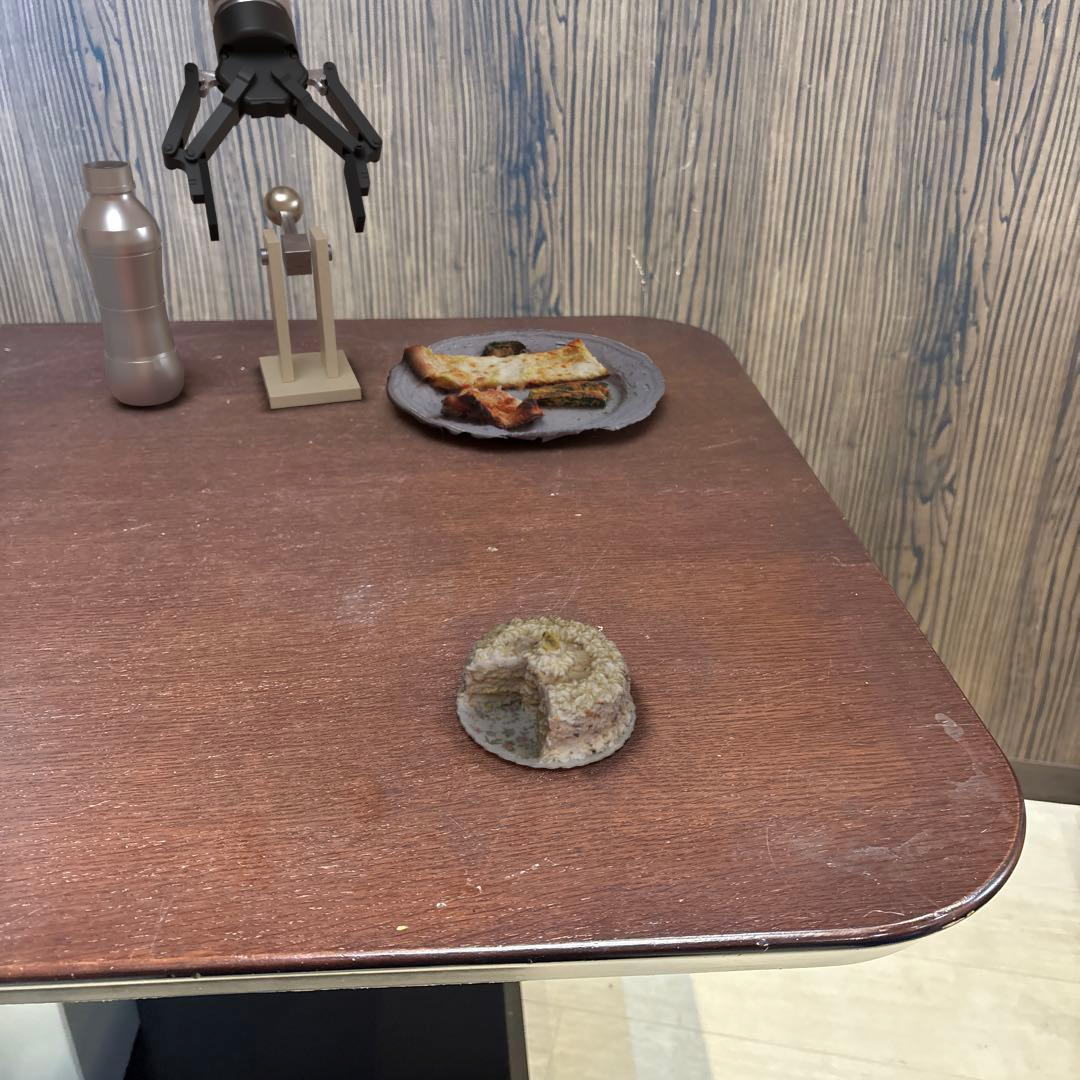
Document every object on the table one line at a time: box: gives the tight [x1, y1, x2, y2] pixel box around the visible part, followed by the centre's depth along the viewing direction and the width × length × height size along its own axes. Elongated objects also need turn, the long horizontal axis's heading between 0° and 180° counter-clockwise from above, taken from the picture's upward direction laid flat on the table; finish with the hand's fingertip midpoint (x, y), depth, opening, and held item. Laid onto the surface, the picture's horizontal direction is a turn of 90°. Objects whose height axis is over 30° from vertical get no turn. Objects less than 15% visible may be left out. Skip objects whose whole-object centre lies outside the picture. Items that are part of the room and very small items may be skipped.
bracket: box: [258, 225, 362, 410], centre depth 90 cm, size 10×8×14 cm
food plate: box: [385, 327, 666, 443], centre depth 91 cm, size 25×23×4 cm
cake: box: [454, 613, 637, 770], centre depth 54 cm, size 10×10×5 cm
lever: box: [262, 185, 313, 277], centre depth 90 cm, size 11×4×4 cm, turn 19°
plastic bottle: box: [76, 160, 185, 407], centre depth 84 cm, size 6×7×20 cm
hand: (288, 229), depth 91 cm, fingers open, 12 cm apart
